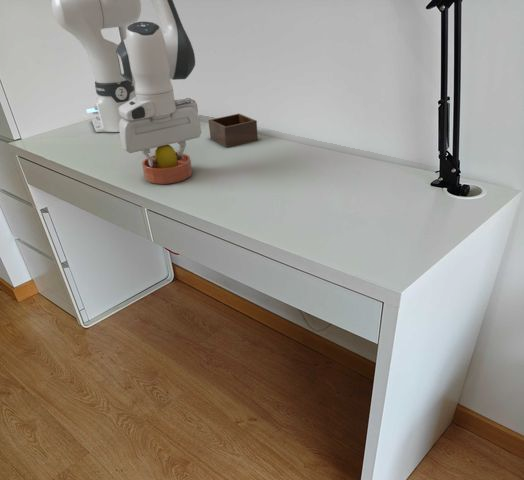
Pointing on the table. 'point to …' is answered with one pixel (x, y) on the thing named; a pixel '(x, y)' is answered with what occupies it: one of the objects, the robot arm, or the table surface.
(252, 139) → the holder
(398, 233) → the table surface
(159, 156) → the lemon
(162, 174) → the bowl
